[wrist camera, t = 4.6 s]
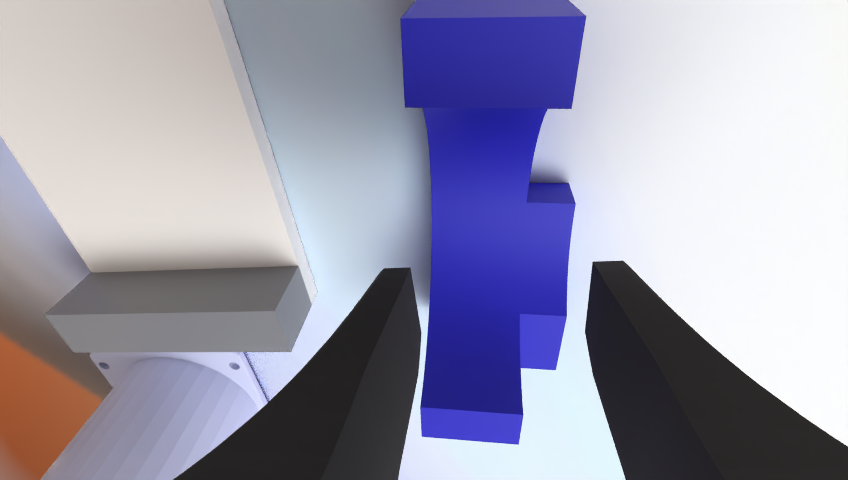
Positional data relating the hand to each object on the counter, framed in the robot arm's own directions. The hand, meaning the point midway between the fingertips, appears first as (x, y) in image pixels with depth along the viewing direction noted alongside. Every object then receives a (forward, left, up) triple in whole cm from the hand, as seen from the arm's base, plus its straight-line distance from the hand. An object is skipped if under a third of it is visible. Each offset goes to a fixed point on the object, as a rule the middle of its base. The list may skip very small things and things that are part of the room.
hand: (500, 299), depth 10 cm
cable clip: (0, 0, -7) cm, 7 cm away
